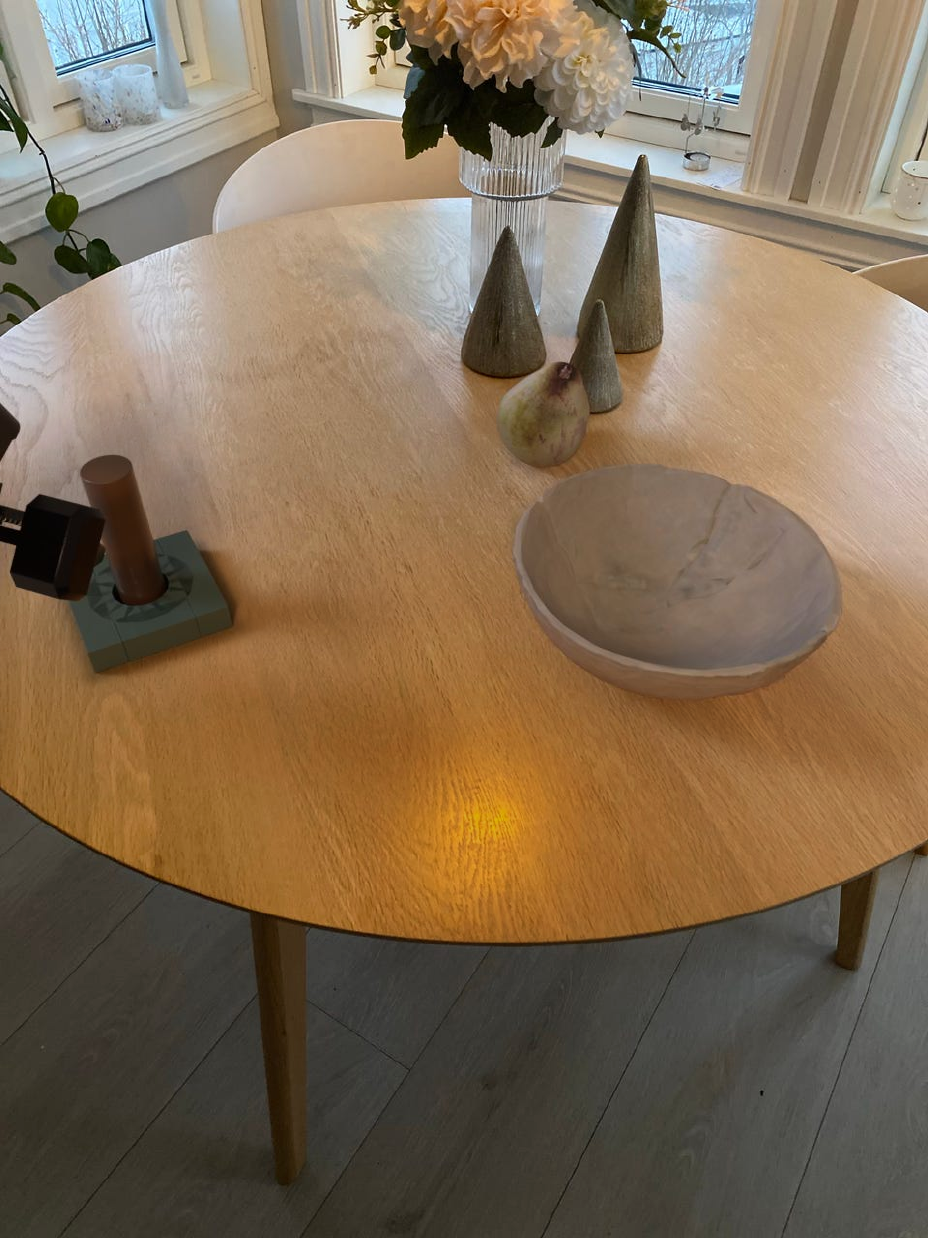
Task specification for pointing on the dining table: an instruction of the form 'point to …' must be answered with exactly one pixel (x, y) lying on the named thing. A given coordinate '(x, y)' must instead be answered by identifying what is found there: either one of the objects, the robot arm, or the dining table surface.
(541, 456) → the fruit
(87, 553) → the robot arm
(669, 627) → the bowl
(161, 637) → the board
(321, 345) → the dining table surface
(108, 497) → the dowel
